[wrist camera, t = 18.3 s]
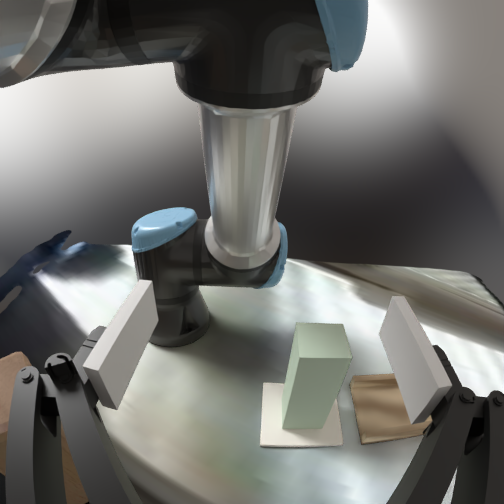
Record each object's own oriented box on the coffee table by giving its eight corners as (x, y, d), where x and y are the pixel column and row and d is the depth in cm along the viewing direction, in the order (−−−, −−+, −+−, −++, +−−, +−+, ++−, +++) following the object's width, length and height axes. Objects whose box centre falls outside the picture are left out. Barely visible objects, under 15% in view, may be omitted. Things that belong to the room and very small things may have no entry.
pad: (263, 384, 45) (263, 382, 45) (333, 386, 45) (334, 383, 45) (260, 446, 34) (260, 444, 34) (342, 445, 34) (343, 443, 34)
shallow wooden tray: (349, 384, 45) (353, 375, 44) (413, 379, 44) (418, 371, 43) (361, 444, 34) (366, 437, 33) (432, 432, 33) (439, 424, 32)
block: (83, 438, 31) (21, 345, 22) (117, 488, 25) (46, 412, 16) (35, 462, 24) (-44, 374, 15) (64, 516, 18) (-33, 448, 9)
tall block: (281, 397, 42) (296, 322, 35) (318, 398, 42) (343, 323, 35) (281, 428, 37) (299, 357, 30) (322, 428, 37) (352, 357, 29)
